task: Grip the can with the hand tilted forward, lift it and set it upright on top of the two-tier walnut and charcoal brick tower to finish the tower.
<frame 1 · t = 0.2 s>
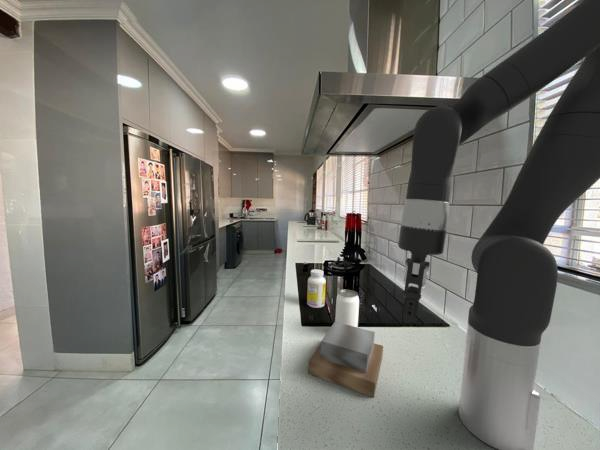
hand: (410, 310, 46), 18 cm above the worktop, tool pointing down, fingers open, 8 cm apart
supplement bottle: (315, 305, 89), on the worktop
can: (345, 333, 70), on the worktop
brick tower: (347, 364, 56), on the worktop
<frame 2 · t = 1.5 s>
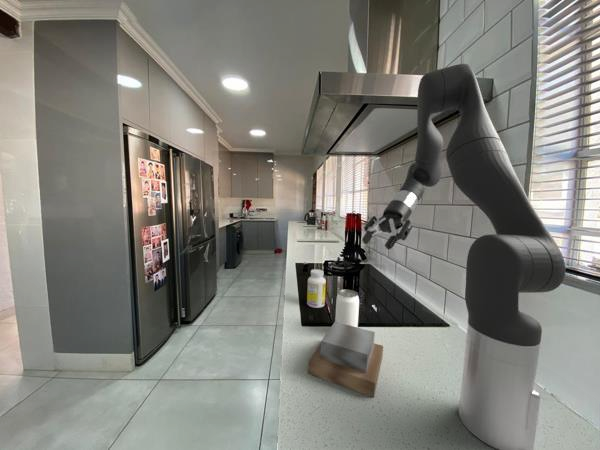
hand: (375, 244, 73), 25 cm above the worktop, tool tilted 45°, fingers open, 8 cm apart
nothing on the worktop moved.
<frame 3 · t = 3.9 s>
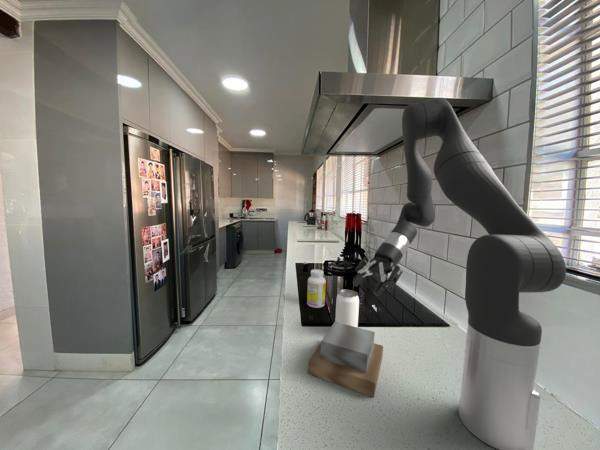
hand: (364, 289, 73), 12 cm above the worktop, tool tilted 45°, fingers open, 8 cm apart
nothing on the worktop moved.
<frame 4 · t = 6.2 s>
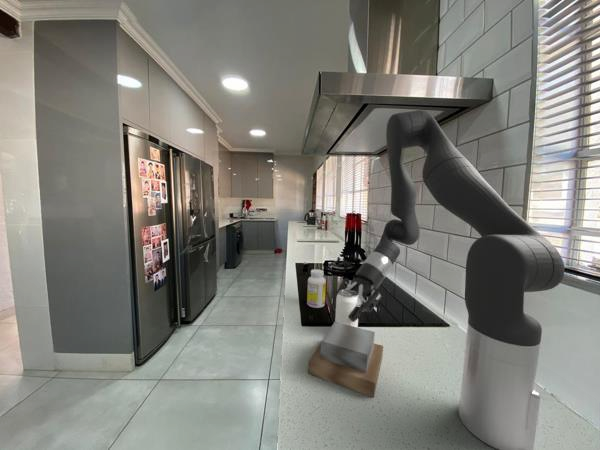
hand: (342, 314, 69), 6 cm above the worktop, tool tilted 45°, fingers closed on can, 6 cm apart
can: (345, 333, 70), on the worktop, touching gripper
everything else where it was.
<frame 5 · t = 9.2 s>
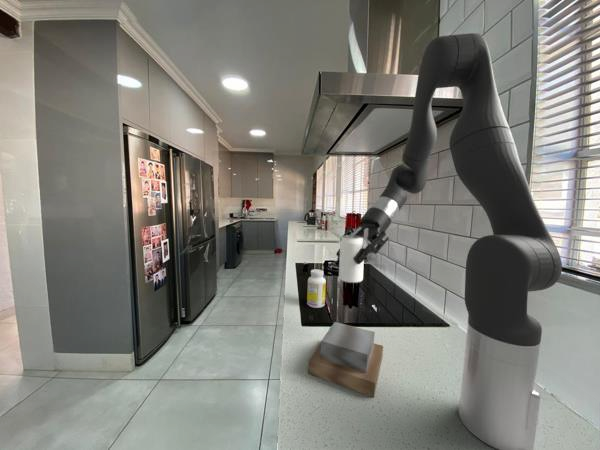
hand: (347, 259, 64), 23 cm above the worktop, tool tilted 45°, fingers closed on can, 6 cm apart
can: (350, 280, 66), point 17 cm above the worktop, touching gripper
everything else where it was.
when the fingers open (14 cm above the worktop, at t = 12.2 s): can drops 1 cm, resting on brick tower.
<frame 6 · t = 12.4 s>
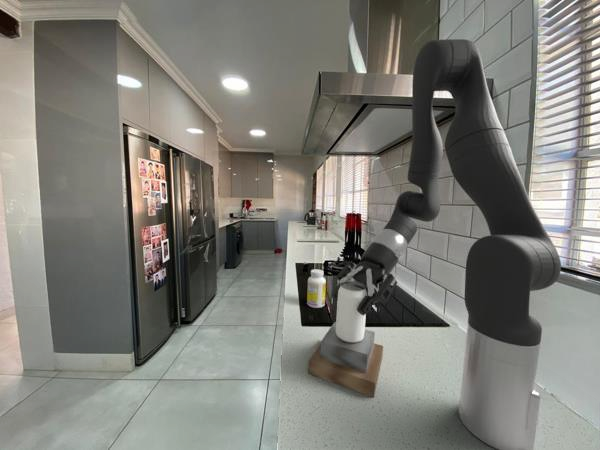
hand: (346, 305, 54), 15 cm above the worktop, tool tilted 45°, fingers open, 8 cm apart
can: (349, 336, 56), point 7 cm above the worktop, touching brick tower
everything else where it was.
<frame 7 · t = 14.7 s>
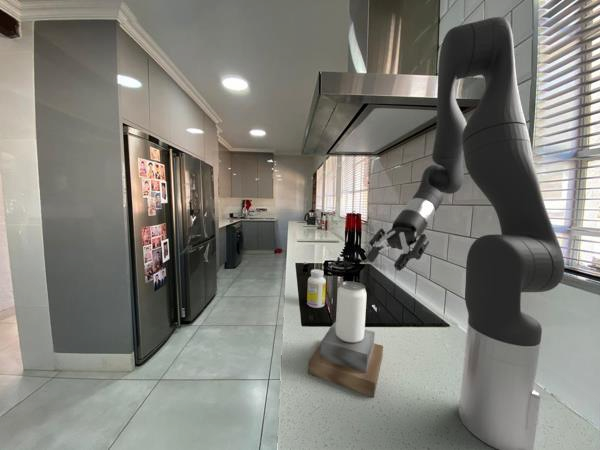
hand: (382, 264, 60), 23 cm above the worktop, tool tilted 45°, fingers open, 8 cm apart
nothing on the worktop moved.
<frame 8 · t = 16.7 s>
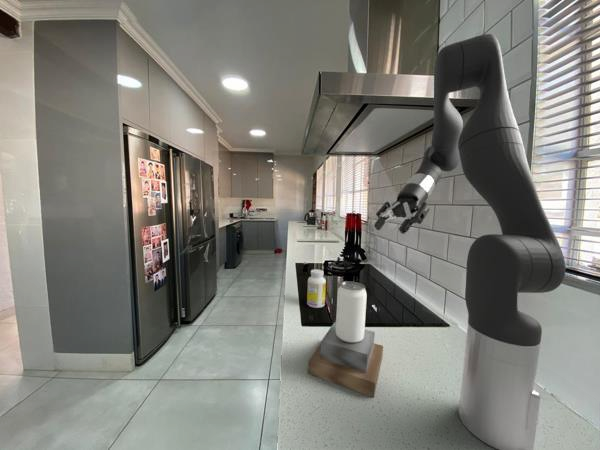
hand: (388, 229, 68), 31 cm above the worktop, tool tilted 45°, fingers open, 8 cm apart
nothing on the worktop moved.
at the end: can inside the target area on the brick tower (0.2 cm from its centre), point 6.8 cm above the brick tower's base; can tilted 0°; the gripper is holding nothing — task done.
